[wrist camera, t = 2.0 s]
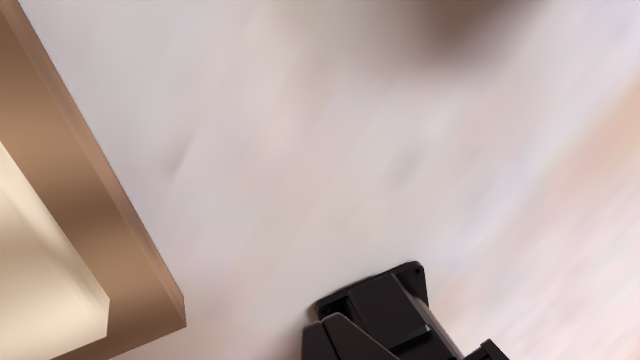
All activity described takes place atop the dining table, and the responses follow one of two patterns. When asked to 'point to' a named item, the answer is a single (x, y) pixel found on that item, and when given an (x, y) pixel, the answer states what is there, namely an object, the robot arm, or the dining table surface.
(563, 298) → the dining table surface
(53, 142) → the serving board
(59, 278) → the coaster
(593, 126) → the dining table surface
